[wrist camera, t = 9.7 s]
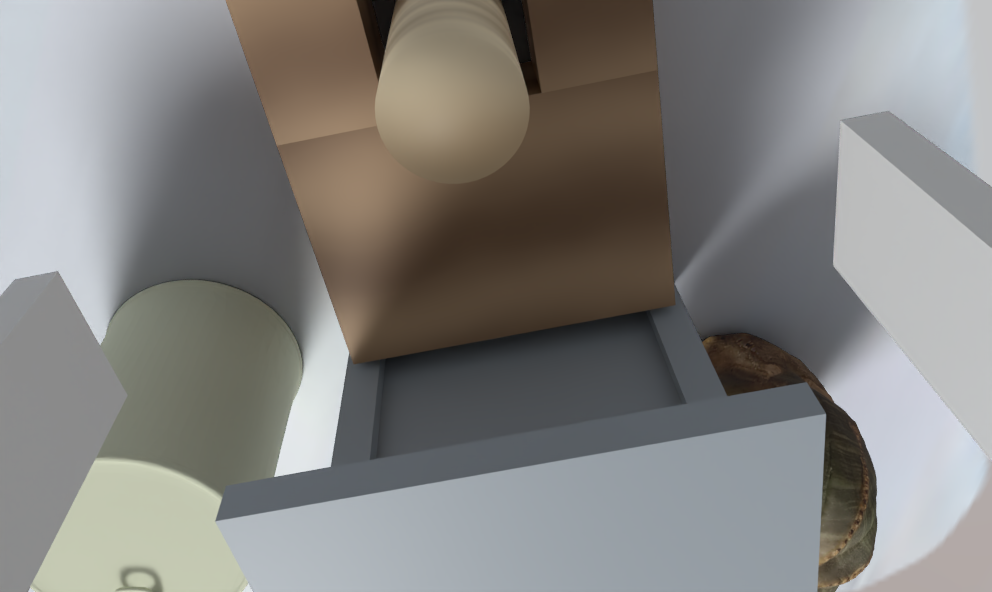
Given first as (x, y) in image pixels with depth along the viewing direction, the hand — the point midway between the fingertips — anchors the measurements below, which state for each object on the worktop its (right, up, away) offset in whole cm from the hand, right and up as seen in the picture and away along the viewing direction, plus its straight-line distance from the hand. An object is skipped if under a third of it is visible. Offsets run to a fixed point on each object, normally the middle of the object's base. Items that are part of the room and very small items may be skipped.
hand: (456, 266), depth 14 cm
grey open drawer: (+1, +2, +23) cm, 23 cm away
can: (-13, -3, +26) cm, 29 cm away
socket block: (0, +7, +20) cm, 21 cm away
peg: (-1, +11, +17) cm, 20 cm away
